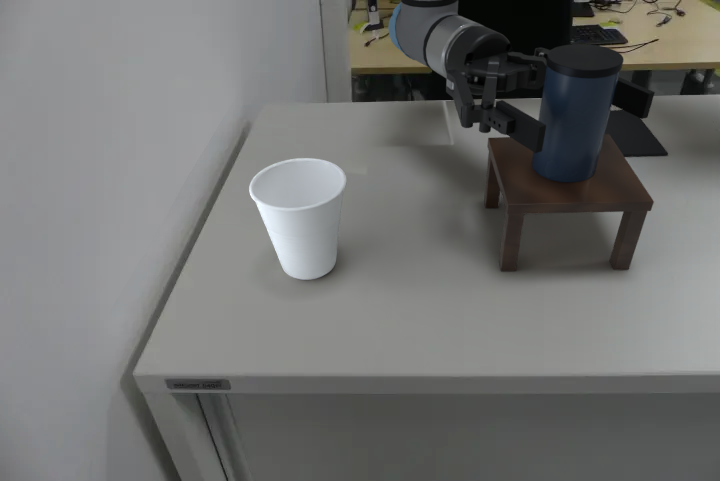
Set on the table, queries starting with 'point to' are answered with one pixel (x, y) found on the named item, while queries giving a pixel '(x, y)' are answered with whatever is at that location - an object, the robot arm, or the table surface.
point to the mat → (632, 135)
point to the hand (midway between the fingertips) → (597, 122)
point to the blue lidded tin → (575, 110)
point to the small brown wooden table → (564, 196)
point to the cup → (301, 213)
